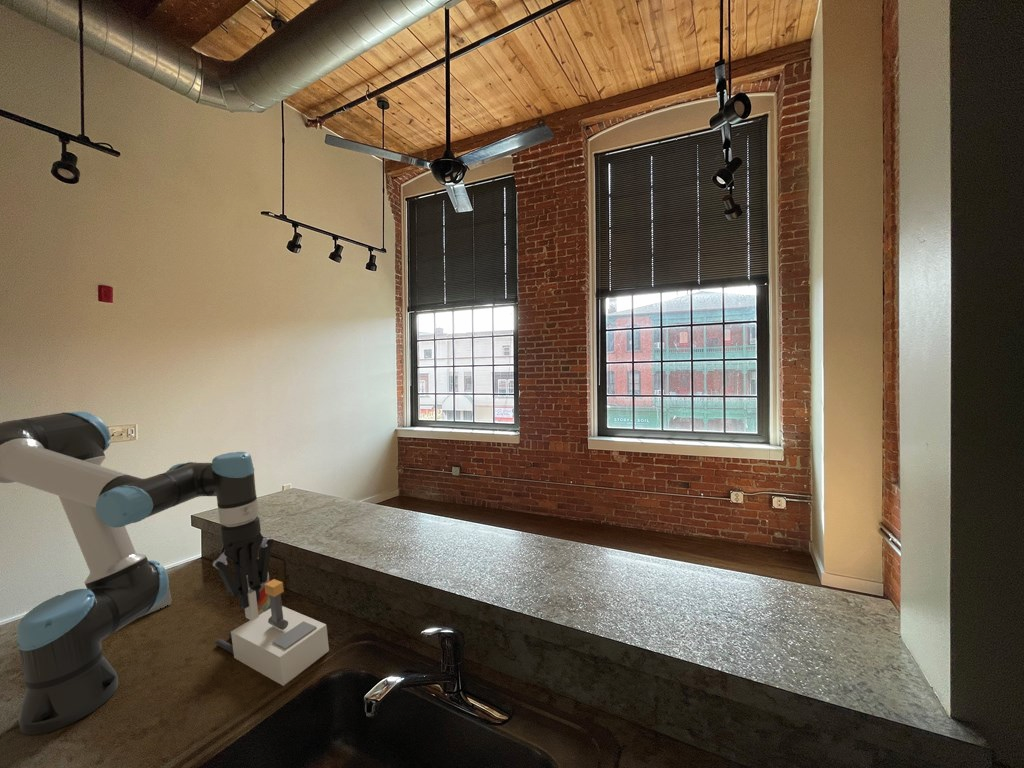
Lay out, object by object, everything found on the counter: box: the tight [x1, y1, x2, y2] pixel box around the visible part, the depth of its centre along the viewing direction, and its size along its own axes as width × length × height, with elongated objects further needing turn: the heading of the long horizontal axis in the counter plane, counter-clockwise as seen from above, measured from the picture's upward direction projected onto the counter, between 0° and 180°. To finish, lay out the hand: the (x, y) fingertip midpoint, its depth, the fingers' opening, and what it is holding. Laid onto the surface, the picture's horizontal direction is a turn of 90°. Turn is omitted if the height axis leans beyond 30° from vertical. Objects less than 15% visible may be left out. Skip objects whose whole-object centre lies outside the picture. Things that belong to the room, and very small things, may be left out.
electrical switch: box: [137, 585, 173, 619], centre depth 127 cm, size 9×5×9 cm, turn 141°
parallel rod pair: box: [215, 631, 234, 655], centre depth 109 cm, size 9×4×1 cm, turn 61°
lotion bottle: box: [246, 555, 271, 621], centre depth 115 cm, size 6×6×20 cm
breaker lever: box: [264, 578, 288, 630], centre depth 104 cm, size 5×2×11 cm, turn 61°
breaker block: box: [230, 605, 330, 687], centre depth 105 cm, size 20×12×7 cm, turn 61°
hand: (252, 617), depth 99 cm, fingers closed
